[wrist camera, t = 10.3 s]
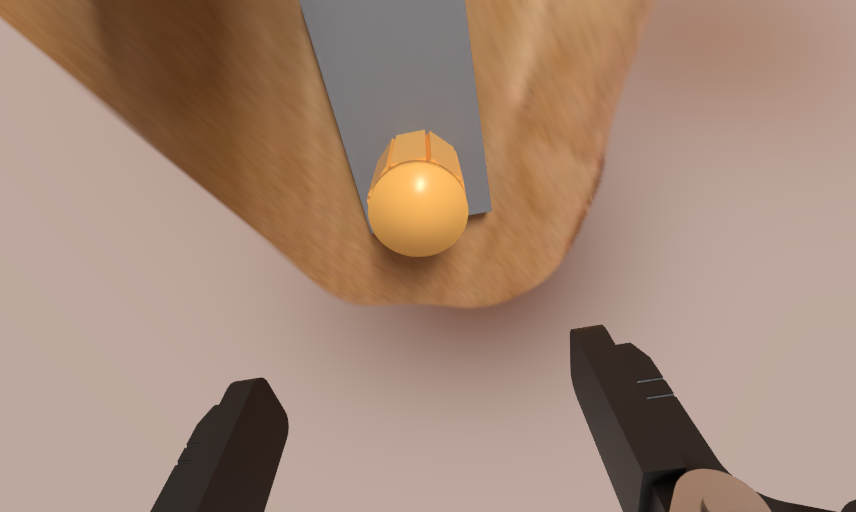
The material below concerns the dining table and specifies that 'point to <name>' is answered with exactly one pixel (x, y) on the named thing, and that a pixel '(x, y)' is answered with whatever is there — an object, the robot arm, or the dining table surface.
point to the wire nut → (418, 195)
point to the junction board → (400, 81)
